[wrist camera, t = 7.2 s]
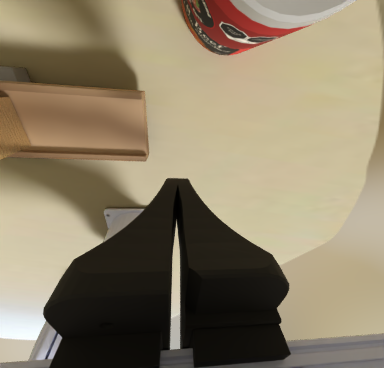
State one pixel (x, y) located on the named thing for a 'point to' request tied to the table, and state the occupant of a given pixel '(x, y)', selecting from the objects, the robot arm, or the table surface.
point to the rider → (11, 130)
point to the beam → (77, 119)
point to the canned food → (252, 20)
